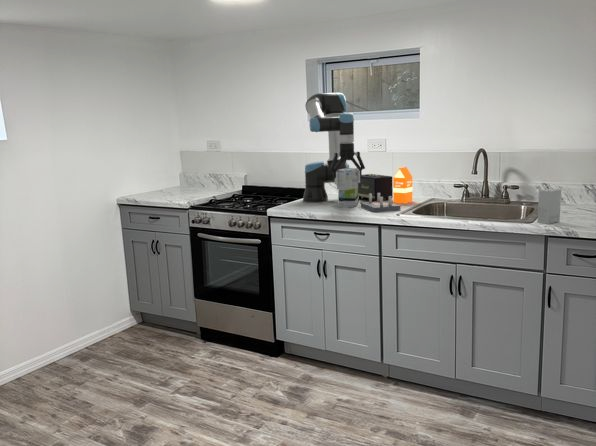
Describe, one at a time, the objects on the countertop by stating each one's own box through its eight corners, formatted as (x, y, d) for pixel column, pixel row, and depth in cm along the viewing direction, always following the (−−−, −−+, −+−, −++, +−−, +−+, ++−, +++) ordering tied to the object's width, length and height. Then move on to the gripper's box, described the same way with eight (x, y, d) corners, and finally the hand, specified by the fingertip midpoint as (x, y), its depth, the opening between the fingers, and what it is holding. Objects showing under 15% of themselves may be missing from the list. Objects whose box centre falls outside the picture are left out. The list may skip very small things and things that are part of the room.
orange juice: (412, 201, 322) (412, 167, 318) (405, 203, 315) (405, 168, 312) (400, 200, 327) (400, 166, 323) (393, 202, 320) (392, 168, 316)
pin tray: (360, 207, 308) (360, 193, 307) (385, 205, 312) (385, 192, 310) (374, 212, 290) (373, 198, 288) (400, 210, 293) (400, 196, 292)
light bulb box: (348, 187, 305) (348, 167, 302) (358, 188, 300) (358, 168, 298) (336, 189, 297) (335, 169, 295) (346, 190, 293) (345, 170, 290)
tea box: (355, 207, 309) (355, 180, 306) (338, 207, 311) (337, 181, 308) (358, 203, 323) (358, 177, 321) (341, 203, 325) (340, 178, 323)
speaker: (354, 198, 342) (354, 174, 339) (371, 196, 348) (371, 172, 345) (375, 202, 323) (375, 176, 320) (392, 200, 329) (392, 175, 326)
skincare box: (548, 220, 252) (550, 187, 250) (560, 222, 247) (562, 189, 244) (536, 222, 248) (538, 189, 245) (548, 224, 243) (550, 190, 240)
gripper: (327, 144, 287) (328, 185, 291) (370, 142, 293) (371, 182, 297) (322, 143, 294) (323, 183, 299) (365, 141, 300) (365, 180, 305)
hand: (347, 183), depth 298 cm, fingers closed on light bulb box, 12 cm apart
